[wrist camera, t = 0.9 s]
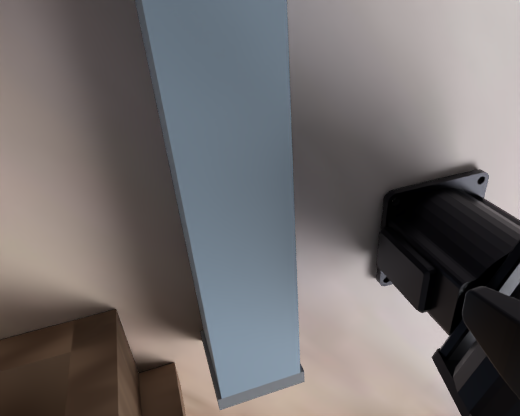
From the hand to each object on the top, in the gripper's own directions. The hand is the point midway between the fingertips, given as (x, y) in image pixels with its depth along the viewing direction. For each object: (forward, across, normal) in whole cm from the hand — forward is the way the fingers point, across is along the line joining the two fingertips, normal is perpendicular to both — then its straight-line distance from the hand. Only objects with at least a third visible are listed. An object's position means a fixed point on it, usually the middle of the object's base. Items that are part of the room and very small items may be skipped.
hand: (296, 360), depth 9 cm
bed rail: (+11, 0, 0) cm, 11 cm away
